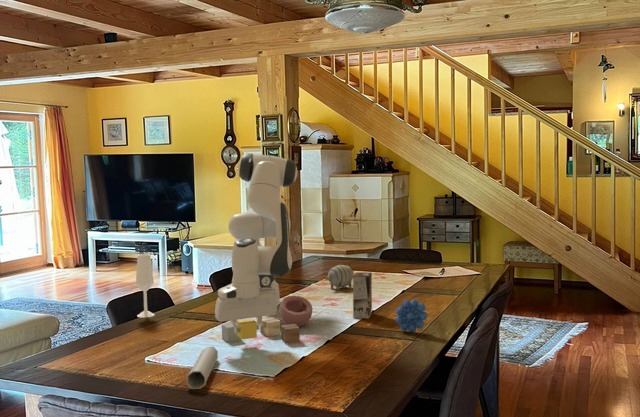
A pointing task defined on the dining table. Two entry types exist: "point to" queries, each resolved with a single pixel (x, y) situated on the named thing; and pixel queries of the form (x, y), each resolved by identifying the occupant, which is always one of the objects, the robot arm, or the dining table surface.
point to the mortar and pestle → (295, 310)
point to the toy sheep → (340, 276)
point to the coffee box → (362, 295)
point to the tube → (202, 368)
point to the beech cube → (270, 327)
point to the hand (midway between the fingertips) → (246, 331)
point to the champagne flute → (144, 279)
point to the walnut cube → (290, 333)
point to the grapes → (411, 315)
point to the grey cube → (229, 333)
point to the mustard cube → (247, 329)
